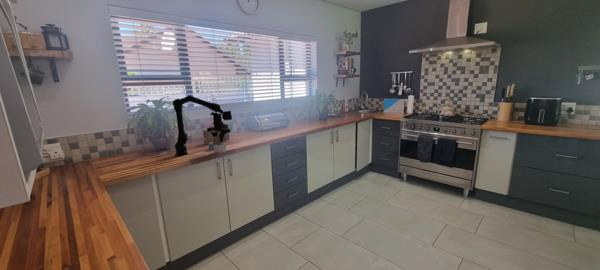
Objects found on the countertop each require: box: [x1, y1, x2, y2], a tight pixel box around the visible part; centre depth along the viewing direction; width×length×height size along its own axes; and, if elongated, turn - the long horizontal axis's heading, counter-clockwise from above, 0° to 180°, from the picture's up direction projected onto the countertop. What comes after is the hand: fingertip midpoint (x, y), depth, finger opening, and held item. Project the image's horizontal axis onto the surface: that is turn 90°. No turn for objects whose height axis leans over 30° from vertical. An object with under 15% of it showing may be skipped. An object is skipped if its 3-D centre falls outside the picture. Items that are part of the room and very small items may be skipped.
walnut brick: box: [213, 135, 227, 144], centre depth 186 cm, size 8×4×5 cm, turn 153°
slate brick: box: [207, 142, 216, 151], centre depth 193 cm, size 8×4×5 cm, turn 137°
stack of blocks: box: [202, 128, 230, 145], centre depth 214 cm, size 21×6×12 cm, turn 145°
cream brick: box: [213, 142, 227, 153], centre depth 187 cm, size 8×4×5 cm, turn 159°
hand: (219, 141), depth 186 cm, fingers closed on walnut brick, 5 cm apart
